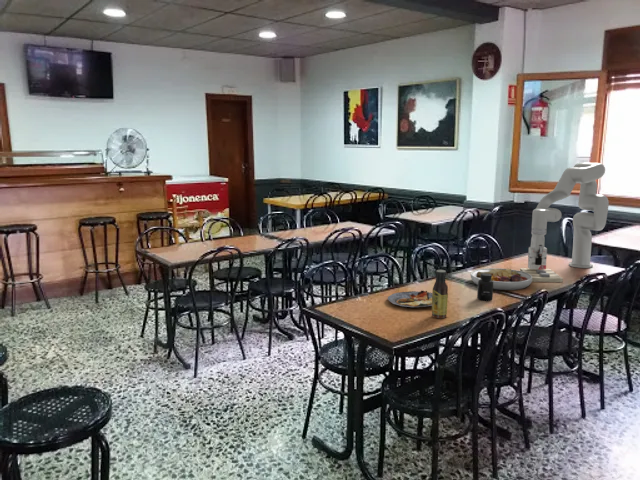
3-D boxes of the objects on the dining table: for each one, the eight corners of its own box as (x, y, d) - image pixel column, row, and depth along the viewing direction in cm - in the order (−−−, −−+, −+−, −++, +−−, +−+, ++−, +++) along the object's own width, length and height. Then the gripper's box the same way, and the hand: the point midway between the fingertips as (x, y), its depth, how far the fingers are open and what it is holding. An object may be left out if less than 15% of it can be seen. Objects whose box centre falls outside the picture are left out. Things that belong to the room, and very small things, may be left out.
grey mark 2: (539, 275, 270) (539, 272, 270) (547, 275, 270) (547, 272, 270) (541, 277, 267) (541, 274, 266) (549, 277, 266) (549, 274, 266)
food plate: (431, 293, 247) (431, 286, 246) (451, 308, 224) (451, 300, 223) (381, 298, 243) (381, 291, 242) (397, 313, 220) (397, 306, 219)
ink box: (543, 267, 285) (544, 246, 283) (546, 269, 280) (547, 248, 278) (527, 267, 286) (528, 246, 284) (529, 269, 281) (531, 248, 279)
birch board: (520, 271, 287) (520, 268, 287) (549, 272, 285) (550, 268, 285) (530, 281, 266) (530, 277, 265) (562, 282, 264) (562, 278, 263)
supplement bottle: (484, 302, 231) (485, 276, 229) (473, 298, 237) (474, 273, 235) (495, 300, 234) (497, 275, 232) (484, 296, 240) (485, 271, 238)
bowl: (458, 280, 273) (459, 265, 271) (505, 275, 282) (506, 261, 280) (494, 294, 245) (494, 278, 243) (545, 288, 254) (546, 273, 252)
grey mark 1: (536, 272, 277) (536, 269, 277) (543, 272, 276) (543, 269, 276) (538, 274, 273) (538, 271, 273) (545, 274, 272) (546, 271, 272)
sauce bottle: (429, 314, 216) (430, 268, 212) (444, 314, 216) (445, 268, 213) (434, 319, 209) (435, 272, 206) (449, 319, 210) (450, 272, 206)
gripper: (527, 229, 288) (525, 260, 291) (535, 233, 271) (533, 267, 275) (541, 229, 287) (539, 260, 290) (550, 234, 270) (548, 267, 273)
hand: (536, 263), depth 282 cm, fingers closed on ink box, 5 cm apart
